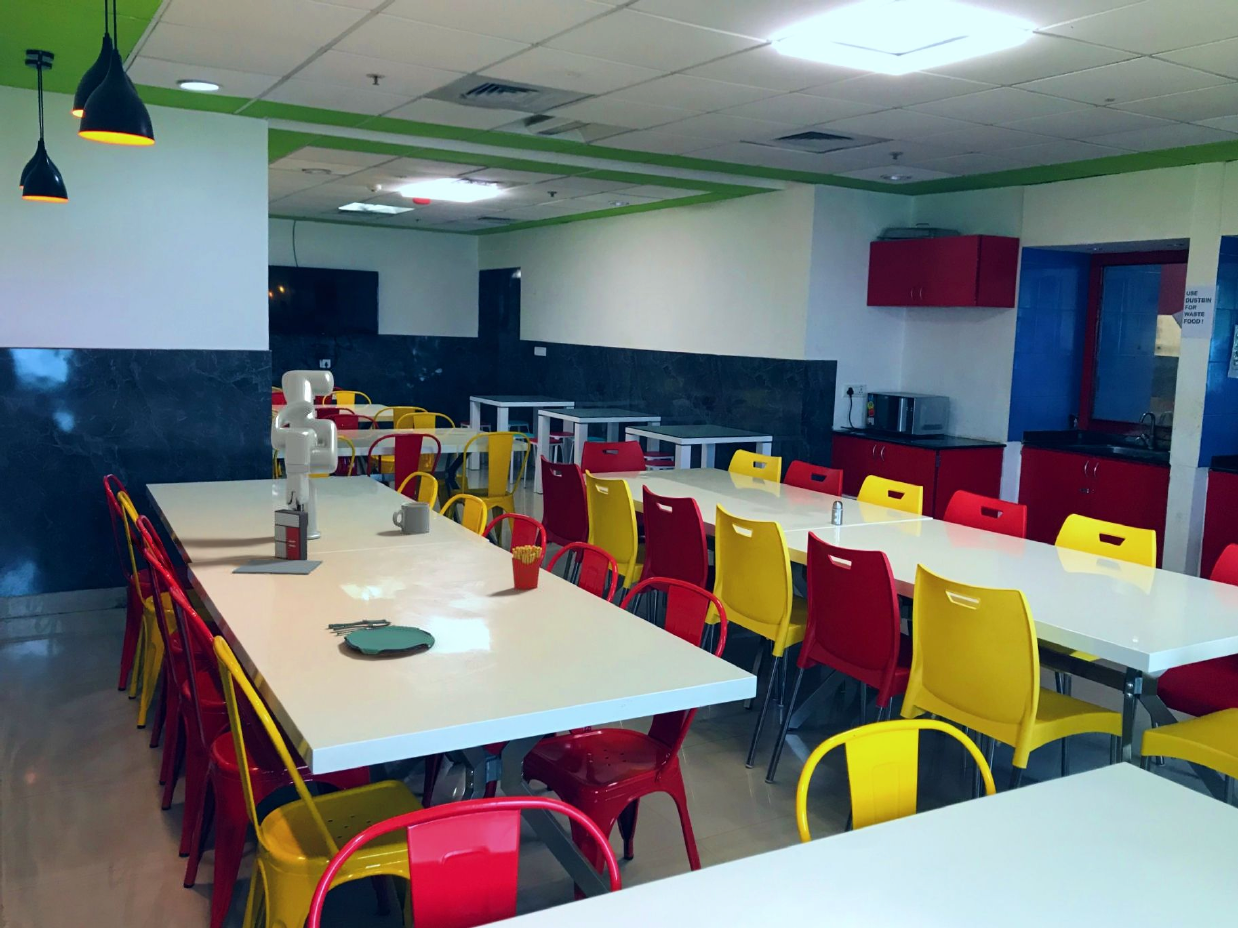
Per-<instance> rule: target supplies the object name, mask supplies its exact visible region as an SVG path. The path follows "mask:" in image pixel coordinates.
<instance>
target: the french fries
mask: <svg viewBox="0 0 1238 928" xmlns="http://www.w3.org/2000/svg"><path fill="white" fill-rule="evenodd" d="M542 553H543V548H542V547H540V546H536V545H534V544H533V545H532V546H531V545H530V544H529V545H524V546H516V547H515V548H512V555H513V556H512V557H511V564H512V574H513V576H512V577H513V588H514V589H515V590H521V591H522V590H535V589H537V588H538V584H539V576H540V565H541V555H542Z"/></svg>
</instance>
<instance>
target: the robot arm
mask: <svg viewBox="0 0 1238 928" xmlns="http://www.w3.org/2000/svg"><path fill="white" fill-rule="evenodd" d="M334 382H335V381H334V376H333V374H332V372H331V371H329V370H305V369H304V370H303V369H302V370H299V369H297V370H290V371H286V372H285V373H284V374H283V375H282V378H281V387H282V392H283V396H284V398H285V399H284V400H285V401H286V404H285V405H284V406H283V407H282V408H281V409H279V411H277V413H276V414H275V416H274V417H273V419H272V423H271V430H270V432H271V434H270V442H271V446H272V448H273V449H274V450H276V451H280V452H281V451H282V452H283V451H284V456H283V457H284V465H285V474H286V484H285V485H286V488H285V490H286V491H285V504H286V505H287V510H293V511H301V512H307V513H308V526H307V540H314V539H318V538H321V537H322V535H323V534H322V531H320V530H318V515H317V514H318V512H317V511H318V508H317V507H318V506H317V505H318V504H317V503H318V501H317V500H318V499H317V498H318V497H317V494H318V493H317V490H318V489H317V485H316V483H315V481H314V480H313V479H312V478H311V477H310V476H309V475H312V474H315V475H317V474H318V475H319V474H332V473H335V471H336V470H337V467H338V461H339V459H338V429H337V425H336V423H335V422H334V421H333V420H331V419H325V418H323V419H322V418H321V419H319V418H316V409H315V407H314V396H321V397H323V396H324V397H325V396H327V397H328V396H331V395H332V392H333V390H334V385H335V383H334ZM288 424H289V427H285V426H286V425H288Z"/></svg>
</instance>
